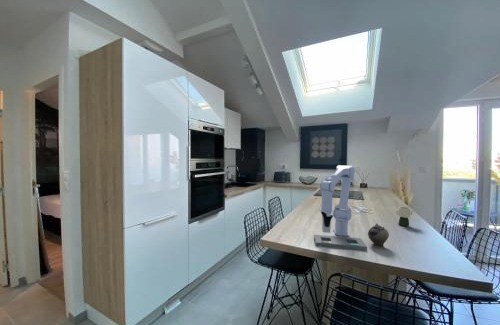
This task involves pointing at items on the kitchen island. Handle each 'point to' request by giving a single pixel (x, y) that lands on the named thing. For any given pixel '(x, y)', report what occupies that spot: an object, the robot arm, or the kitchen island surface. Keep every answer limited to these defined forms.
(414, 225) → the kitchen island surface
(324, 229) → the plug block
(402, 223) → the character mug
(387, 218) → the kitchen island surface
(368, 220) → the kitchen island surface
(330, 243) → the grey mounting plate
